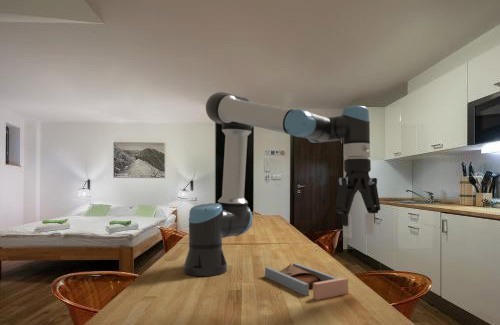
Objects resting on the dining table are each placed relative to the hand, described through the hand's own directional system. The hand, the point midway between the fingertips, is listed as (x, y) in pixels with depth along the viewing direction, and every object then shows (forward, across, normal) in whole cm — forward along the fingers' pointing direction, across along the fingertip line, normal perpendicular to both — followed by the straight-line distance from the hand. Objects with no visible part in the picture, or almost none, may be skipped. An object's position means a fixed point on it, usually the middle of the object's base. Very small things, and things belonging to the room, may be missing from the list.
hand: (359, 236), depth 98 cm
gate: (+15, -11, 0) cm, 19 cm away
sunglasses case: (+16, -12, +16) cm, 25 cm away
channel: (+15, -11, +14) cm, 24 cm away
